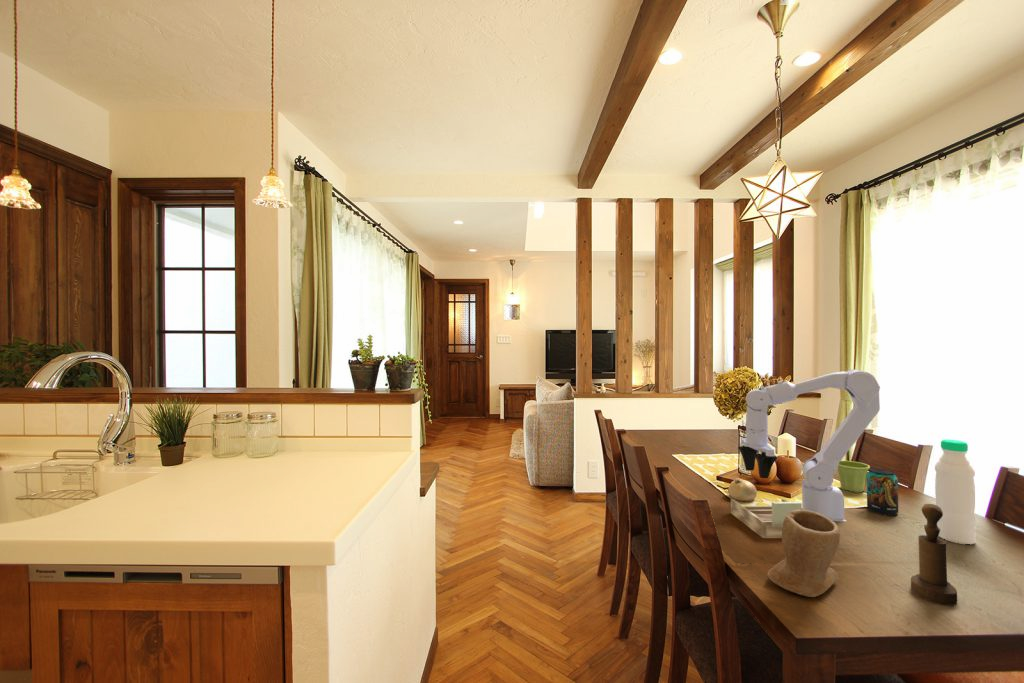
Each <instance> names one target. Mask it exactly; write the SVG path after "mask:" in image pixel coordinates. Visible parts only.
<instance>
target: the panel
mask: <svg viewBox="0 0 1024 683" xmlns="http://www.w3.org/2000/svg"><path fill="white" fill-rule="evenodd" d="M771 506H772V526H783V522H784V519H785V517H786V515H787V514H788V513H789V512H791V511H793V510H802V502H800V501H789V502H782V501H771Z"/></svg>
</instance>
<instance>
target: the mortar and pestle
mask: <svg viewBox="0 0 1024 683" xmlns="http://www.w3.org/2000/svg"><path fill="white" fill-rule="evenodd" d="M921 513H922V514H923V516H924V517H925V520H926V524H924V528H923V529H924V532H925V534H922V535H921V534H920V535H918V538H917V539H918V540H917V541H918V568H919V570H918V571H919V572H918V573H916V574H914V575H912V576H911V577H910V590H911V592H912V593H913V594H914V595H916V596H917V597H919V598H921V599H923V600H926V601H928V602H931V603H934V604H938V605H943V606H954V605H956V604H957V603H958V591H957V588H956V587H955V586H953V585H952V584H951V583H950V582H949V581H948V570H947V569H948V568H947V567H948V566H947V565H948V564H947V563H948V562H947V540H944V539H942V538H941V537H940V538H939V536H938V535H939V532H940V528H938V526H937V522H938V521H939V520H940V519H941V518H942V516H943V512H942V510H941V508H940V507H939V506H937V505H936V504H932V503H925V504H923V505H922V507H921Z"/></svg>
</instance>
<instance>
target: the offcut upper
mask: <svg viewBox="0 0 1024 683" xmlns="http://www.w3.org/2000/svg"><path fill="white" fill-rule="evenodd" d="M755 515H756V516H758V517H759V518H761V519H762V520H763V521H772V514H755Z"/></svg>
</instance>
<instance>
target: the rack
mask: <svg viewBox="0 0 1024 683" xmlns="http://www.w3.org/2000/svg"><path fill="white" fill-rule="evenodd" d="M781 502H790V501H788V500H787V499H785V498H781ZM802 510H803V509H802ZM730 514H731V515H732V516H734V517H735V518H736V519H738V520H739V521H740V522H742V524H744V525H745V526H747V527H748V528H749V529H750V530H751V531H753V532H754V533H755V534H757V535H758V536H760V537H761V539H782V527H783V526H772V521H763V520H762V519H761V518H759V517H758V516H756V515H755V514H772V505H742V504H741V503H739V501H738V500H736V499H733V498H730Z"/></svg>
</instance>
